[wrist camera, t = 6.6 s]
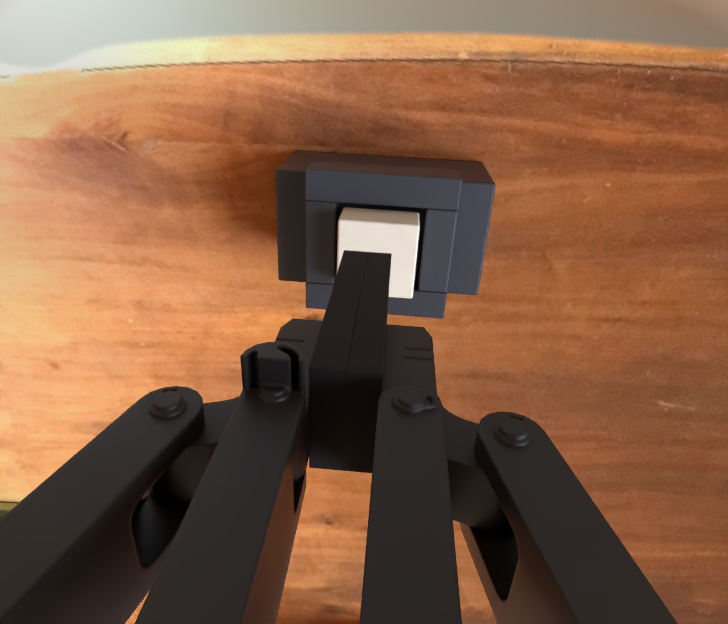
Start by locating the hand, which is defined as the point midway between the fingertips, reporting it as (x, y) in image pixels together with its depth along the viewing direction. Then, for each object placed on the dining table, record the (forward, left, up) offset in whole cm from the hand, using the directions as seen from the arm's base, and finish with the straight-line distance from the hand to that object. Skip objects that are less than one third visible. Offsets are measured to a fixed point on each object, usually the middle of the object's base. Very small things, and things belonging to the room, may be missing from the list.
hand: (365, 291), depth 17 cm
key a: (0, 0, -5) cm, 5 cm away
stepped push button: (0, 0, -11) cm, 11 cm away
